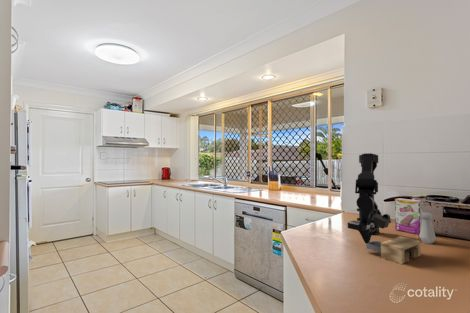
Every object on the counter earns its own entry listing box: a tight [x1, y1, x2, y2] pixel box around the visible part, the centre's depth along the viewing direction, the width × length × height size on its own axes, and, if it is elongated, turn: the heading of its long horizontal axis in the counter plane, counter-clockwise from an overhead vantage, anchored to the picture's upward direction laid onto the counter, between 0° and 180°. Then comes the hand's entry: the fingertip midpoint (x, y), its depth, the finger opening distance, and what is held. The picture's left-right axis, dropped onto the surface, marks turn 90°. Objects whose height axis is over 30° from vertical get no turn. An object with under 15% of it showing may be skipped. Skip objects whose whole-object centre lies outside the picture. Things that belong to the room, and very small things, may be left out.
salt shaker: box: [418, 211, 437, 245], centre depth 109 cm, size 6×6×13 cm
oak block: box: [380, 235, 421, 265], centre depth 92 cm, size 7×15×6 cm, turn 122°
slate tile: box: [365, 240, 411, 258], centre depth 97 cm, size 14×7×2 cm, turn 34°
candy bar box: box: [394, 197, 424, 236], centre depth 125 cm, size 11×5×16 cm, turn 34°
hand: (367, 243), depth 103 cm, fingers closed
